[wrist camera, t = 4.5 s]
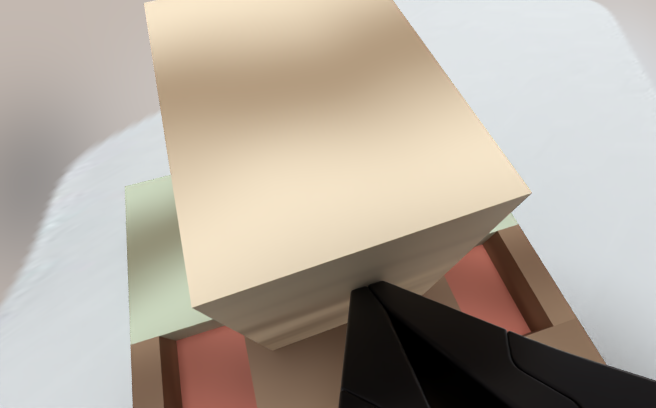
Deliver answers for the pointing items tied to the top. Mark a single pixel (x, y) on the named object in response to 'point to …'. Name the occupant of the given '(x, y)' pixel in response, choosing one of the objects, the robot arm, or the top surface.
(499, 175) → the maple block
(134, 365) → the board
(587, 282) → the top surface
